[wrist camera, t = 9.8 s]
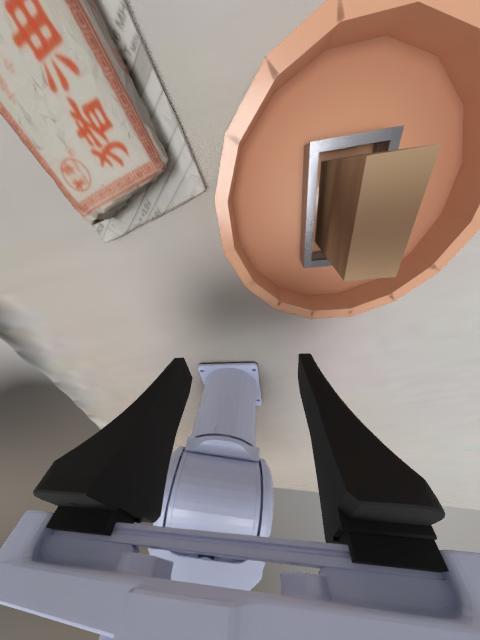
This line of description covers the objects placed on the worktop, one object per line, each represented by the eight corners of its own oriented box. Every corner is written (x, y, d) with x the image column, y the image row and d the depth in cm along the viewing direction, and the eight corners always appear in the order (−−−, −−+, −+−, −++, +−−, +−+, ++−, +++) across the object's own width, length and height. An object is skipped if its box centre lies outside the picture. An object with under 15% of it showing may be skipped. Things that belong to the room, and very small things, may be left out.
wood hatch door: (347, 237, 15) (395, 276, 10) (314, 241, 16) (343, 281, 10) (361, 154, 13) (441, 143, 7) (321, 161, 13) (366, 155, 7)
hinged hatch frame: (359, 252, 16) (370, 262, 14) (299, 258, 17) (303, 268, 15) (385, 130, 12) (404, 125, 10) (303, 145, 13) (310, 141, 11)
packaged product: (-477, -368, 5) (-601, -1476, 2) (-166, -142, 9) (-64, -451, 6) (78, 258, 15) (194, 196, 12) (116, 239, 19) (210, 189, 16)
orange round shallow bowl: (411, 290, 19) (438, 311, 16) (239, 302, 21) (236, 323, 18) (538, -21, 9) (658, -102, 6) (202, 65, 12) (183, 32, 9)
